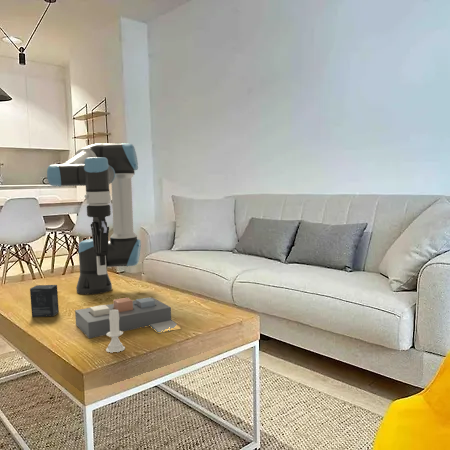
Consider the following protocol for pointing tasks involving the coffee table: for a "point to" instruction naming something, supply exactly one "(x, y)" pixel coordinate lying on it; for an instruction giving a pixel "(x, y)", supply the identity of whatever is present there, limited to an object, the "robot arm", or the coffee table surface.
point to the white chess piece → (114, 332)
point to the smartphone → (163, 325)
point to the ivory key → (99, 310)
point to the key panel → (122, 318)
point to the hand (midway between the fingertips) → (102, 274)
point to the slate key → (145, 302)
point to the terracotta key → (123, 304)
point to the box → (44, 300)
